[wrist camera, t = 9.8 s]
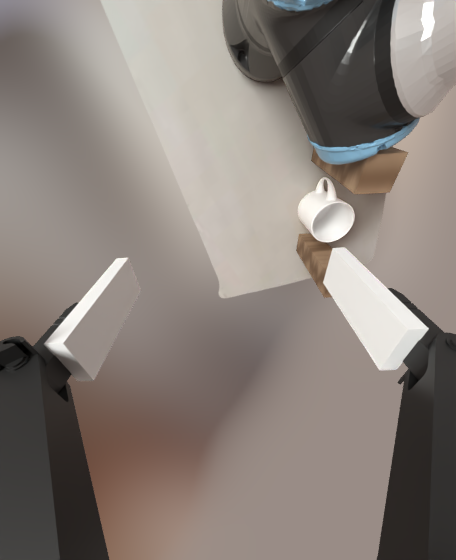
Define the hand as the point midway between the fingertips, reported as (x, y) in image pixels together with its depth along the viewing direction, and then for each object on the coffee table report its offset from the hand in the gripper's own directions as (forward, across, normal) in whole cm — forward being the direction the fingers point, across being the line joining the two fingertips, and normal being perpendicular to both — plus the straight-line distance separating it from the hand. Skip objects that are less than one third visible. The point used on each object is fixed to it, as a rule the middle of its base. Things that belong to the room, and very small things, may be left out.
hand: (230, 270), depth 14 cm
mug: (+40, +21, -7) cm, 46 cm away
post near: (+39, +21, +4) cm, 45 cm away
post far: (+40, +21, -18) cm, 48 cm away
